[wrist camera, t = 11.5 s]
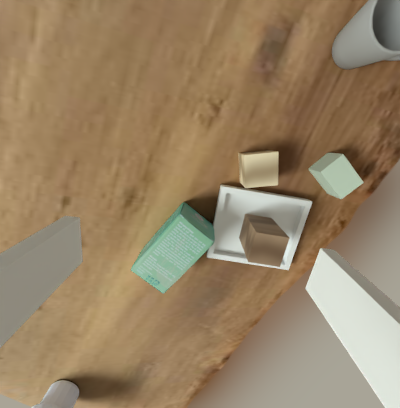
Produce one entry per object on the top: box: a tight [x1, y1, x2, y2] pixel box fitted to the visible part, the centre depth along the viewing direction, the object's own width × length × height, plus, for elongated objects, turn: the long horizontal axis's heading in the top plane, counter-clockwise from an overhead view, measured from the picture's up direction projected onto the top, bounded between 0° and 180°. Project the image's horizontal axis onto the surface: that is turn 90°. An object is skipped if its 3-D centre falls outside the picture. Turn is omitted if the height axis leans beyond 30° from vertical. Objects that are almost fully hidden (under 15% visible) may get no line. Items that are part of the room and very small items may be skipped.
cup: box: [332, 0, 400, 69], centre depth 26 cm, size 8×10×8 cm
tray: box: [207, 184, 312, 270], centre depth 37 cm, size 14×16×2 cm
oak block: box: [239, 150, 278, 188], centre depth 33 cm, size 5×5×5 cm
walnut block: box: [239, 214, 289, 267], centre depth 34 cm, size 5×5×8 cm
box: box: [131, 202, 215, 294], centre depth 36 cm, size 7×14×8 cm, turn 139°
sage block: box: [309, 153, 364, 199], centre depth 33 cm, size 6×4×4 cm, turn 43°
